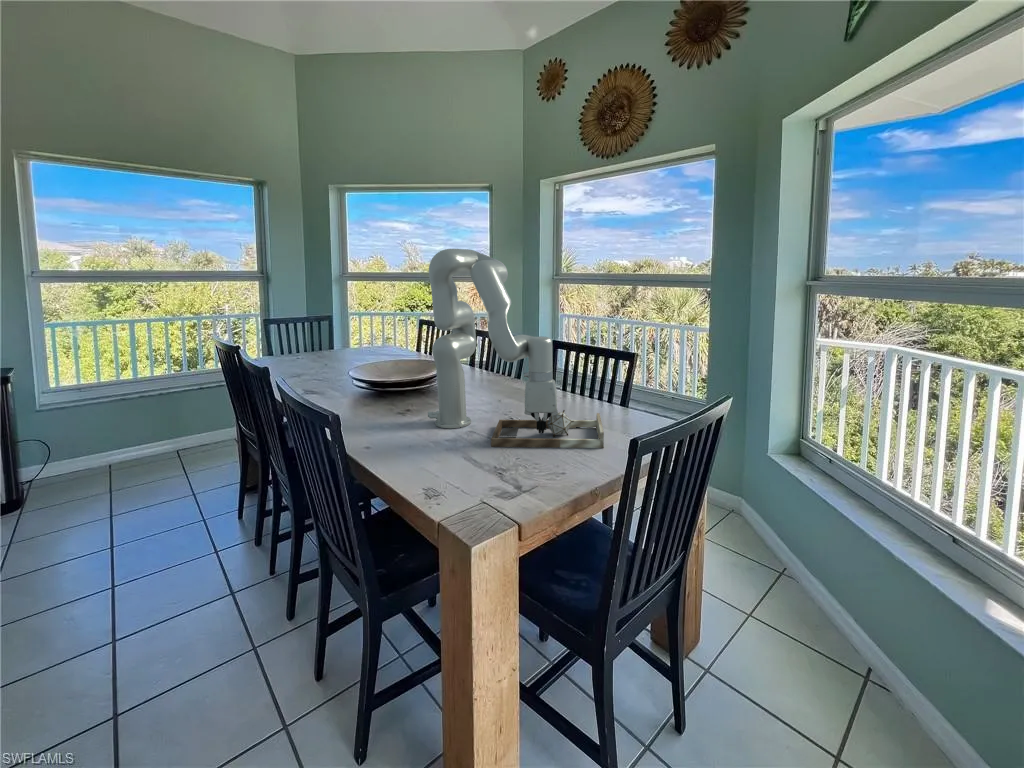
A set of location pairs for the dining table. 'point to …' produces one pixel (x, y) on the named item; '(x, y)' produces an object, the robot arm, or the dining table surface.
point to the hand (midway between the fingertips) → (541, 431)
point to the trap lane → (510, 441)
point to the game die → (559, 423)
